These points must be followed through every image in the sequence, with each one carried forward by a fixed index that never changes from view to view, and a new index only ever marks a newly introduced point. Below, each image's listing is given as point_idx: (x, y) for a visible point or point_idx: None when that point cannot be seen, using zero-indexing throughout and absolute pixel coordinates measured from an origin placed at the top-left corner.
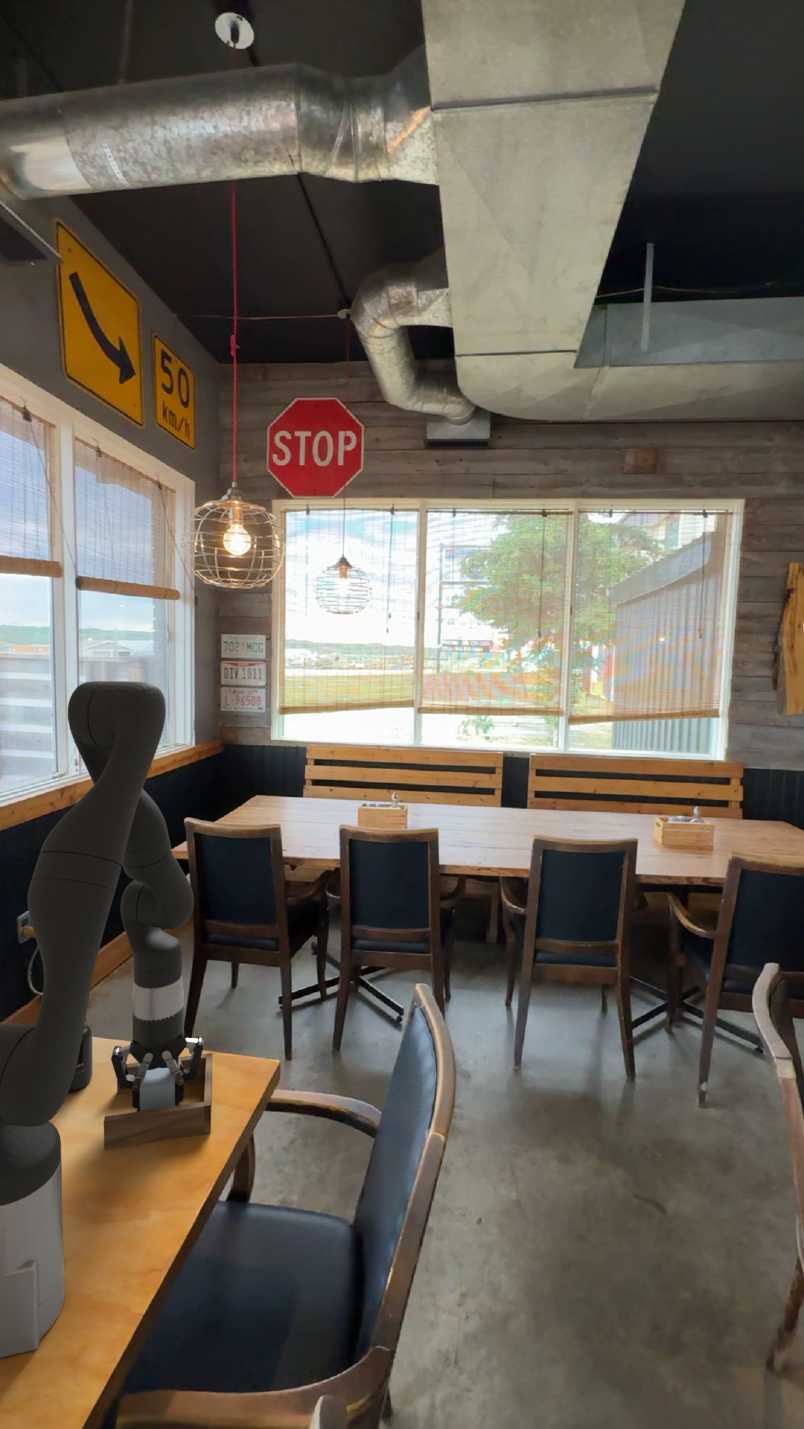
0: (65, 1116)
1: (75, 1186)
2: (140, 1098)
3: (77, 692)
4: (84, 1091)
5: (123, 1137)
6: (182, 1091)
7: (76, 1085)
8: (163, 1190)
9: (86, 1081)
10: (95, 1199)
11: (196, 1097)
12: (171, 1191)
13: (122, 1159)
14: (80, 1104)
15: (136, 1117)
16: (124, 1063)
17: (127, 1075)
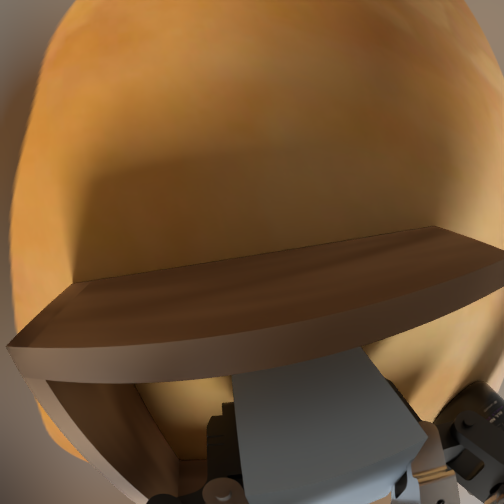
0: (481, 336)
1: (457, 98)
2: (399, 402)
3: None
4: (446, 399)
5: (411, 242)
6: (212, 451)
7: (464, 402)
8: (191, 9)
9: (447, 416)
10: (399, 32)
11: (185, 428)
12: (162, 7)
13: (382, 169)
14: (458, 370)
15: (425, 284)
16: (484, 485)
17: (451, 458)
